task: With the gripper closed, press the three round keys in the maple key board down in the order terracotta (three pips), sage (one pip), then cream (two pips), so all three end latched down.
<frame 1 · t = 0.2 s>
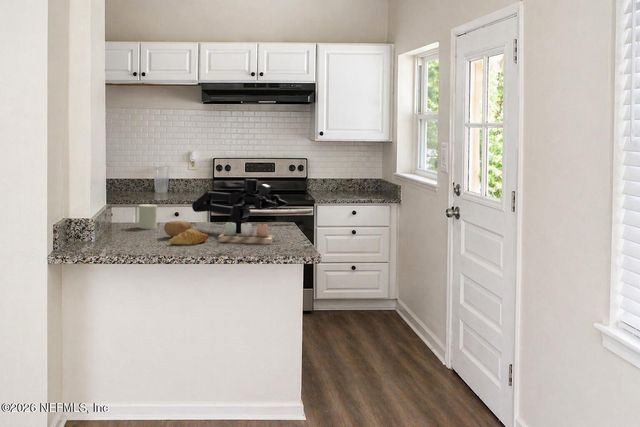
hand: (282, 204, 391), 17 cm above the worktop, tool horizontal, fingers open, 9 cm apart
key one: (230, 228, 380), point 5 cm above the worktop, slide at 0.0 cm
key three: (262, 230, 380), point 5 cm above the worktop, slide at 0.0 cm
key two: (246, 229, 380), point 5 cm above the worktop, slide at 0.0 cm
can: (147, 228, 412), on the worktop
key board: (246, 240, 381), on the worktop
croissant: (188, 243, 369), on the worktop
potato: (177, 237, 384), on the worktop
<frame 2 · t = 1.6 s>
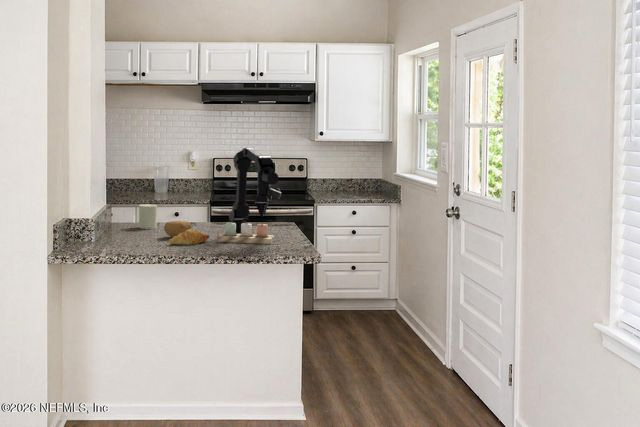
hand: (262, 215, 379), 12 cm above the worktop, tool pointing down, fingers open, 8 cm apart
nothing on the worktop moved.
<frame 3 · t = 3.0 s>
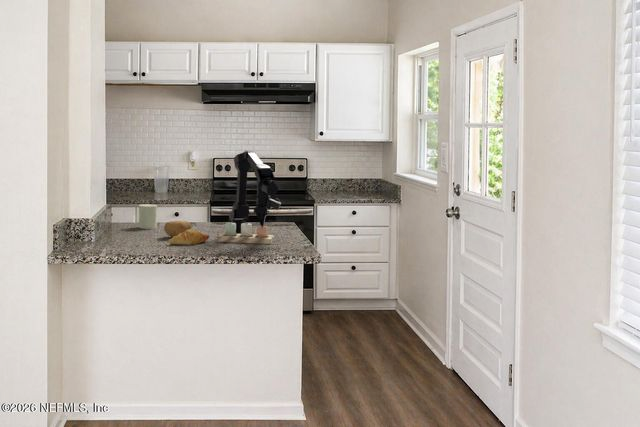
hand: (262, 226, 379), 7 cm above the worktop, tool pointing down, fingers closed, pressing on key three
key three: (262, 232, 380), point 5 cm above the worktop, slide at 0.9 cm, touching gripper
everything else where it was.
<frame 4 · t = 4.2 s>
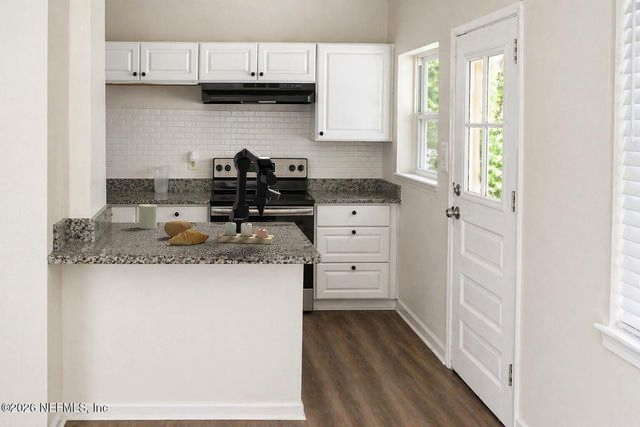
hand: (261, 216, 379), 12 cm above the worktop, tool pointing down, fingers closed
key three: (262, 235, 380), point 3 cm above the worktop, slide at 2.6 cm
everything else where it was.
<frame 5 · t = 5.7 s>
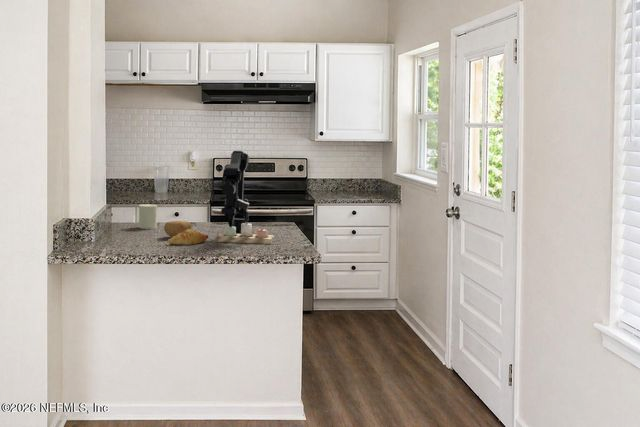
hand: (230, 226, 380), 7 cm above the worktop, tool pointing down, fingers closed, pressing on key one
key one: (230, 232, 380), point 4 cm above the worktop, slide at 1.8 cm, touching gripper
everything else where it was.
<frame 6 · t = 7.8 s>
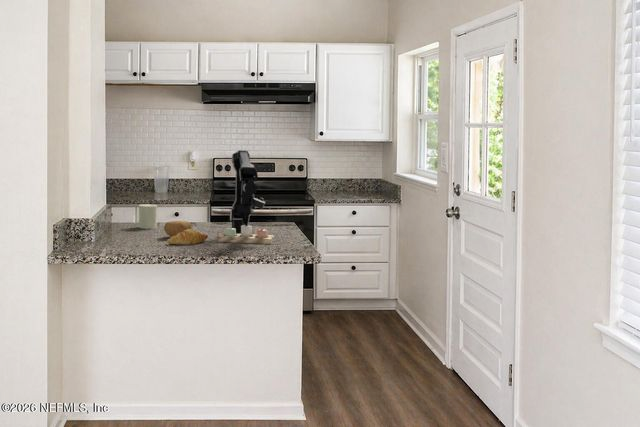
hand: (246, 225, 380), 7 cm above the worktop, tool pointing down, fingers closed
key one: (230, 234, 381), point 3 cm above the worktop, slide at 2.6 cm
key two: (246, 231, 380), point 5 cm above the worktop, slide at 0.9 cm, touching gripper
everything else where it was.
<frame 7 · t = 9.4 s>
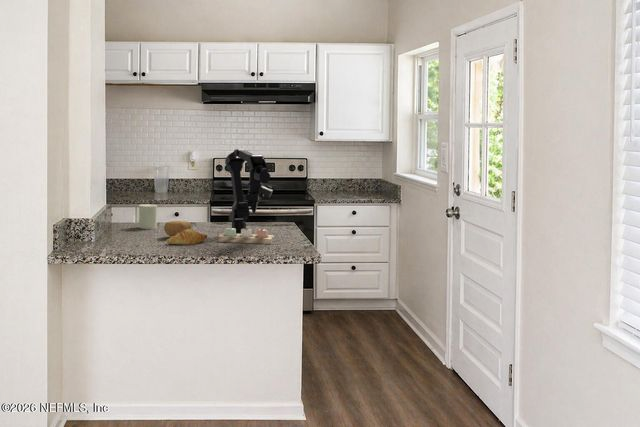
hand: (254, 212, 389), 12 cm above the worktop, tool pointing down, fingers closed
key two: (246, 235, 380), point 3 cm above the worktop, slide at 2.6 cm
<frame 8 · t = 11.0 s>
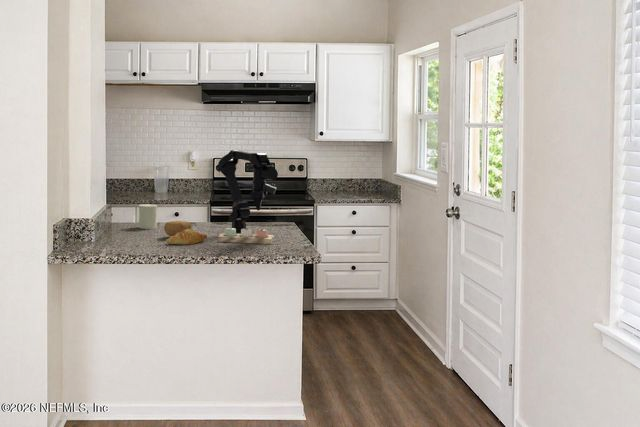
hand: (258, 210, 394), 13 cm above the worktop, tool pointing down, fingers closed
at the end: key three slide at 2.6 cm; key one slide at 2.6 cm; key two slide at 2.6 cm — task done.
